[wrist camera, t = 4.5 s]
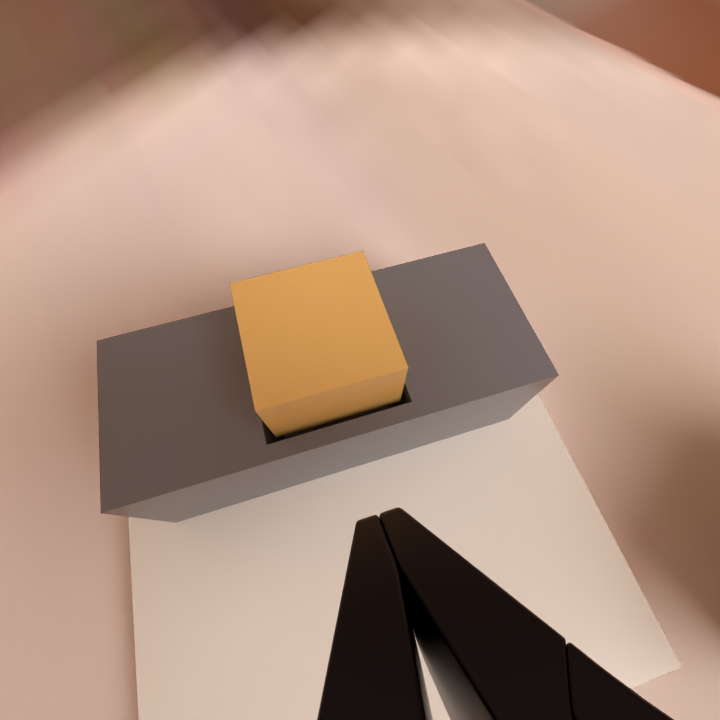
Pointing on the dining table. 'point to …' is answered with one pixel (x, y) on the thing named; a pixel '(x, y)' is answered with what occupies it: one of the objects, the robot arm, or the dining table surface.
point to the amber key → (317, 343)
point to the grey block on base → (347, 498)
